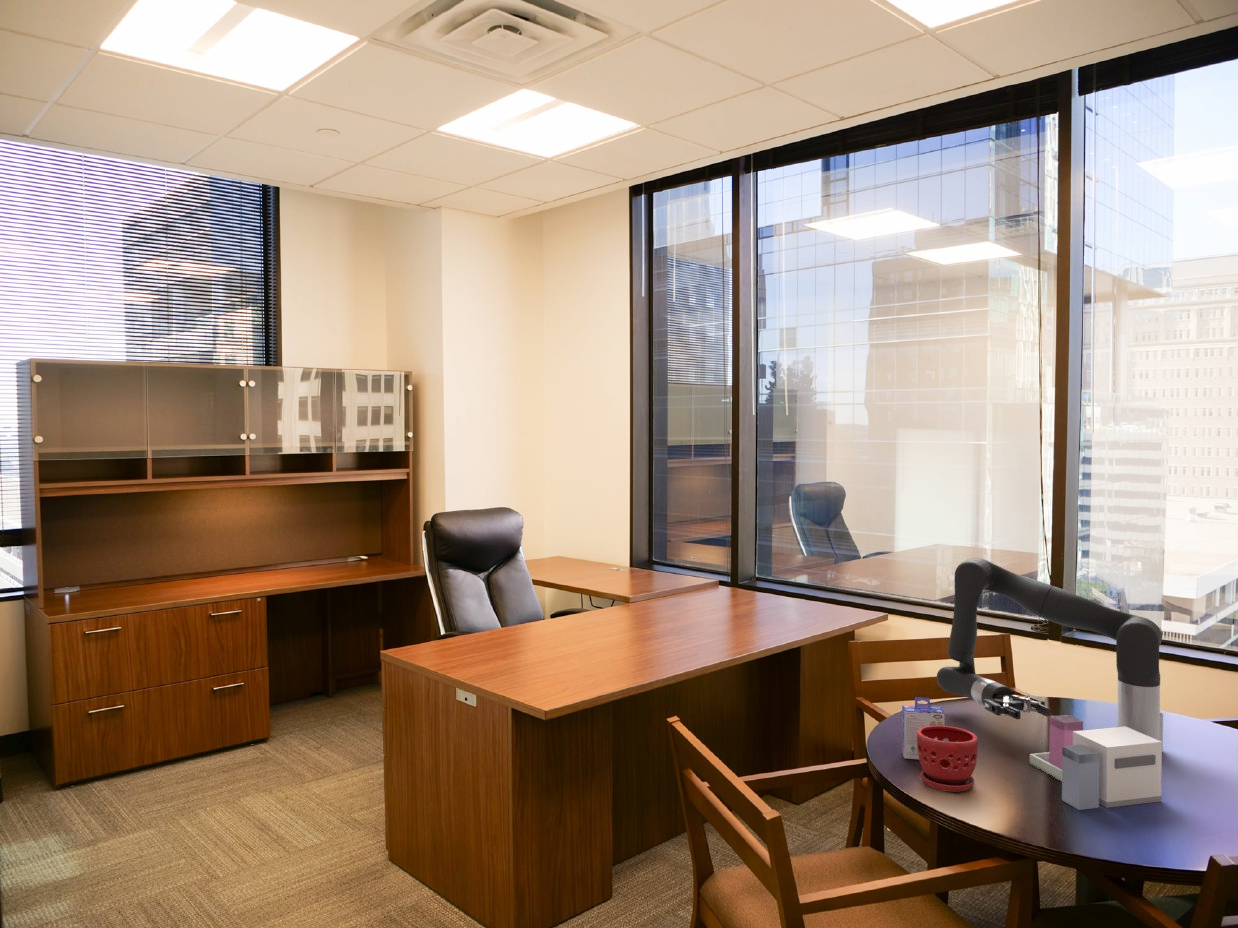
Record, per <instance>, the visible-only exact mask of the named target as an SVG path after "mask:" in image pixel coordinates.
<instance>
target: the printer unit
mask: <svg viewBox="0 0 1238 928" xmlns="http://www.w3.org/2000/svg"><path fill="white" fill-rule="evenodd" d="M1073 745H1084V746H1086V747H1088V748H1090V749H1093V750H1095V751H1097V752H1099V805H1101V806H1102V807H1105V808H1106V809H1107V808H1115V807H1123V806H1132V805H1140V804H1141V805H1142V804H1149V803H1150V804H1151V803H1157V802H1158V803H1159V802H1162V764H1163V763H1162V762H1163V761H1162V760H1163V759H1162V758H1163V754H1162V752H1163V751H1162V742H1161V741H1159V740H1156V739H1154V738H1152V737H1149V736H1147V735H1145V734H1142V733H1140V732H1137V731H1135V730H1133V729H1130V728H1128V727H1126V726H1124V727H1117V726H1116V727H1105V728H1097V729H1096V728H1095V729H1094V728H1093V729H1083V731H1073Z"/></svg>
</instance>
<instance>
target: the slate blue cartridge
mask: <svg viewBox="0 0 1238 928" xmlns="http://www.w3.org/2000/svg"><path fill="white" fill-rule="evenodd" d="M1061 800H1062V801H1063V802H1064V803H1066V804H1068V805H1070V806H1071V807H1073V808H1075V809H1076V810H1078V811H1082V810H1090V809H1099V807H1100V804H1099V752H1097V751H1095V750H1093V749H1090V748H1088V747H1086V746H1084V745H1072V746H1062V782H1061Z"/></svg>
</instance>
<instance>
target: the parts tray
mask: <svg viewBox="0 0 1238 928" xmlns="http://www.w3.org/2000/svg"><path fill="white" fill-rule="evenodd" d="M1030 764H1031V766H1032V765H1033V767H1034V766H1035V767H1034V768H1036V767H1037V768H1036V769H1038V770H1039V769H1041V770H1042V771H1041V770H1040V771H1041V772H1043V771H1044V772H1043V773H1045V772H1046V773H1045V774H1046V775H1048V774H1050V775H1052V776H1053V778H1054V777H1055V778H1054V779H1056V780H1058V781H1059V780H1060V781H1059V782H1061V783H1062V770H1061V769H1059V768H1058V767H1056V766H1054V765H1052V764H1050V763H1049V751H1047V752H1038V753H1029V765H1030ZM1050 775H1049V776H1050ZM1052 776H1051V777H1052Z"/></svg>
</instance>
